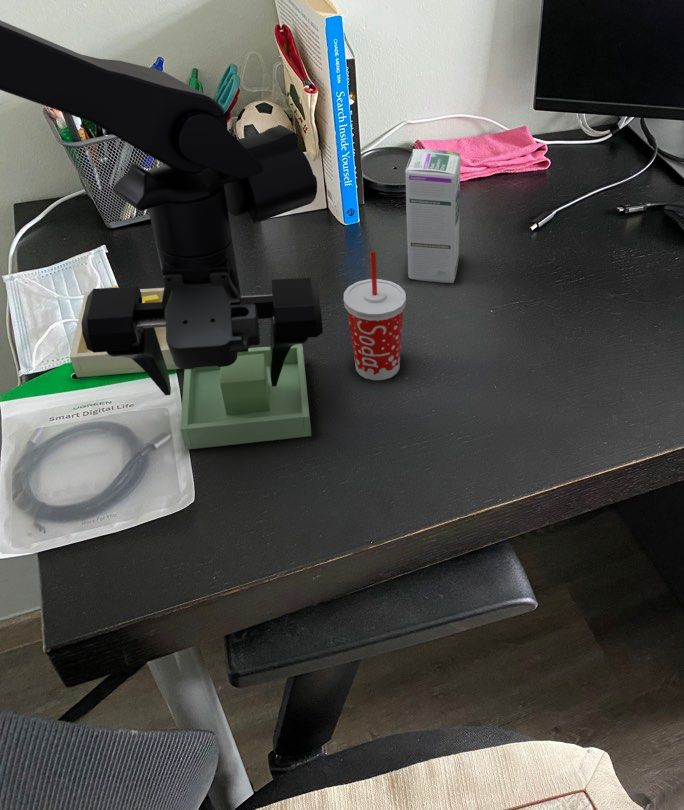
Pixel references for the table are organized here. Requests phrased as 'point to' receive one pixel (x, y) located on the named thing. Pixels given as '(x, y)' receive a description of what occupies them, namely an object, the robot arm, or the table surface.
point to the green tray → (215, 428)
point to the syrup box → (433, 214)
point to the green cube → (245, 385)
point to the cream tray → (105, 364)
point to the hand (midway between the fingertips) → (222, 388)
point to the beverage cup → (375, 324)
